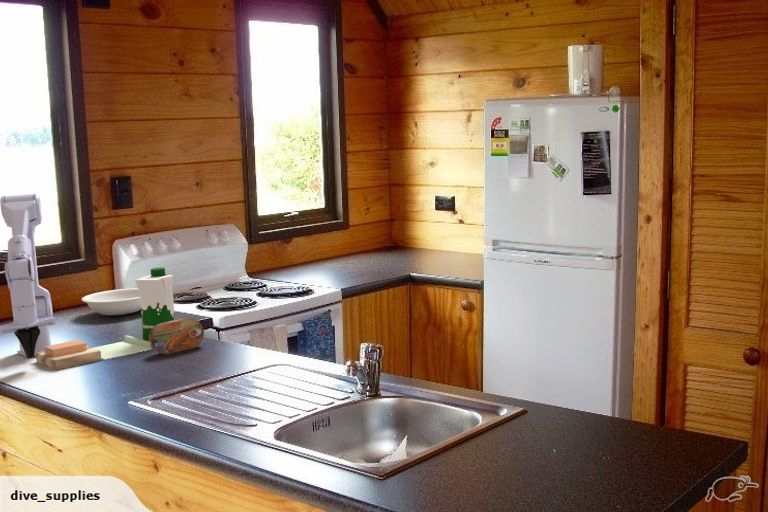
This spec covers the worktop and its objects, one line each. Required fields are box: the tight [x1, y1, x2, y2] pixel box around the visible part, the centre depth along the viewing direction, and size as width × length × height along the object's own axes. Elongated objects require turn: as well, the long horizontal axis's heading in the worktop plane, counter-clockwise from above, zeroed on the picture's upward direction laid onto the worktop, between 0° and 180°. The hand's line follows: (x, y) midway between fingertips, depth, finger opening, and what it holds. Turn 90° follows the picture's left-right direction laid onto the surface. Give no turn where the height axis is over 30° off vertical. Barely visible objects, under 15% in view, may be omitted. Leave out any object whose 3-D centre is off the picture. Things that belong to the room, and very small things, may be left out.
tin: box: [148, 317, 205, 355], centre depth 245 cm, size 15×3×8 cm, turn 127°
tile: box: [44, 339, 88, 357], centre depth 241 cm, size 6×9×2 cm, turn 131°
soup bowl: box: [81, 287, 141, 316], centre depth 303 cm, size 24×24×7 cm
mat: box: [93, 334, 154, 361], centre depth 250 cm, size 16×14×2 cm
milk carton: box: [134, 267, 176, 342], centre depth 260 cm, size 9×9×20 cm
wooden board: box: [35, 345, 103, 371], centre depth 241 cm, size 14×12×2 cm
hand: (30, 357), depth 235 cm, fingers closed
